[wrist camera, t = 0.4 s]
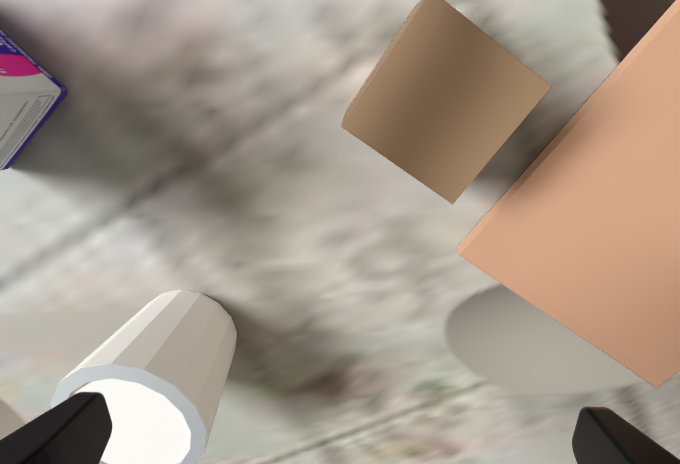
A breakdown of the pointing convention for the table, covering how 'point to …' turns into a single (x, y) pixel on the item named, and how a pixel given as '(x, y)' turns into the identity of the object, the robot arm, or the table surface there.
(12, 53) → the supplement box
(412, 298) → the table surface
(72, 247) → the table surface
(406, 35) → the walnut cube
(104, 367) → the white cup
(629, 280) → the tile mat
